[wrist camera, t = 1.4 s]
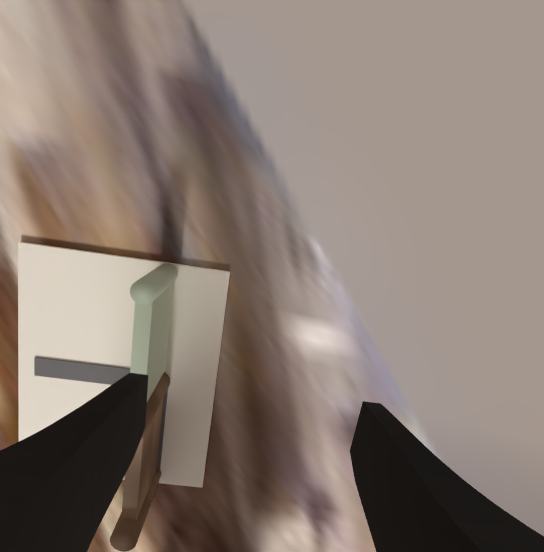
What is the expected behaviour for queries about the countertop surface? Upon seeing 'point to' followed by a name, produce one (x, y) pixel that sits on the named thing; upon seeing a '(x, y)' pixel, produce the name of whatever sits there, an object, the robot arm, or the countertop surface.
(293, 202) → the countertop surface
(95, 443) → the robot arm
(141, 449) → the walnut fence section
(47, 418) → the card
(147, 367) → the sage fence panel
